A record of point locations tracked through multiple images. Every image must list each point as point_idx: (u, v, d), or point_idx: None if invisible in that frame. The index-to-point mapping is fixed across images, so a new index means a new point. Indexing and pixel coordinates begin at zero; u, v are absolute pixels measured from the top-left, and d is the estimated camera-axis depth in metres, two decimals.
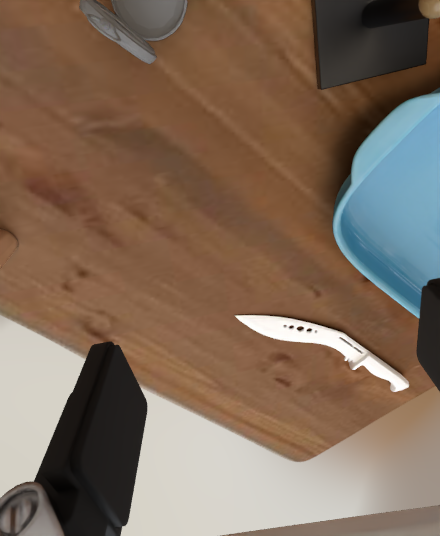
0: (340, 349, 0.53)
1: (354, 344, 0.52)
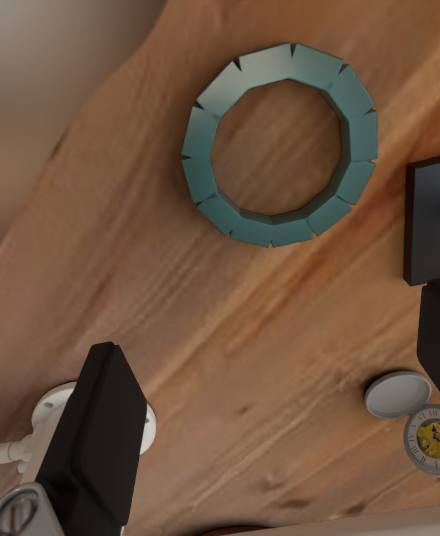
0: None
1: None
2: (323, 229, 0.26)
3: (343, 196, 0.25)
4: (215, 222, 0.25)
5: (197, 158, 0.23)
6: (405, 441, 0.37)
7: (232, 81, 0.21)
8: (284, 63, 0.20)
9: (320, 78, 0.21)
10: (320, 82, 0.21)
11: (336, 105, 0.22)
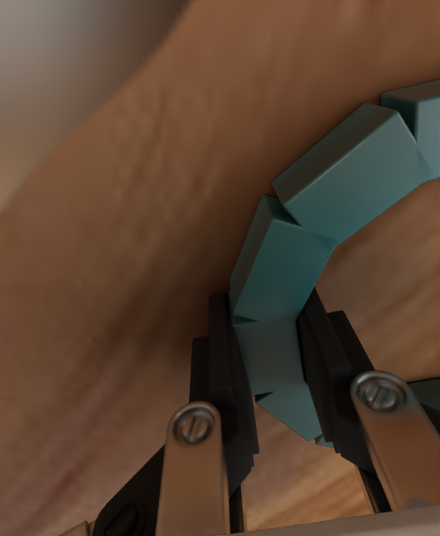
0: None
1: None
2: None
3: None
4: (291, 423, 0.12)
5: (270, 321, 0.10)
6: None
7: (388, 163, 0.08)
8: None
9: None
10: None
11: None
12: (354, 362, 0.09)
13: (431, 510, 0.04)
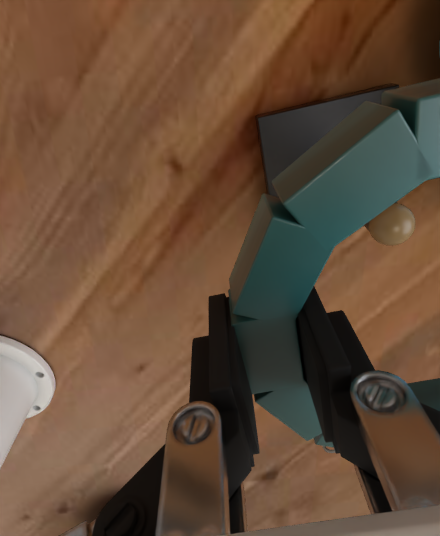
0: None
1: None
2: None
3: None
4: (291, 423, 0.12)
5: (269, 321, 0.10)
6: None
7: (388, 161, 0.08)
8: None
9: None
10: None
11: None
12: (354, 362, 0.09)
13: (431, 510, 0.04)
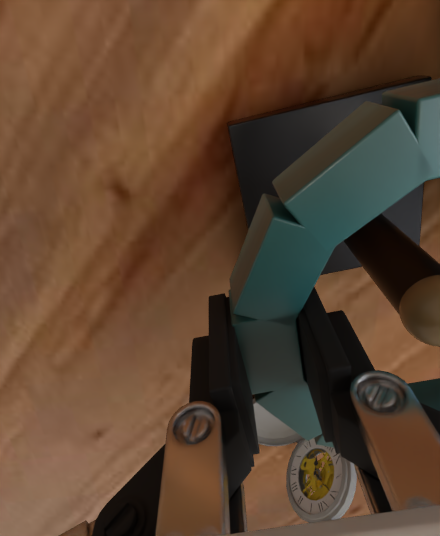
0: None
1: None
2: None
3: None
4: (291, 423, 0.12)
5: (269, 321, 0.10)
6: (287, 475, 0.30)
7: (388, 162, 0.08)
8: None
9: None
10: None
11: None
12: (354, 362, 0.09)
13: (431, 510, 0.04)
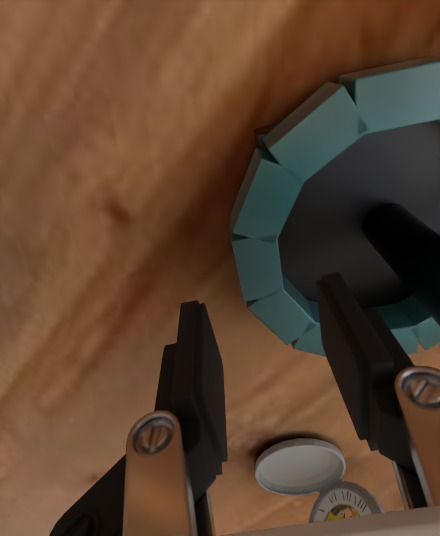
0: None
1: None
2: (436, 341, 0.17)
3: None
4: (274, 328, 0.16)
5: (258, 239, 0.14)
6: None
7: (338, 121, 0.12)
8: (435, 94, 0.11)
9: None
10: None
11: None
12: (392, 358, 0.09)
13: (431, 510, 0.04)
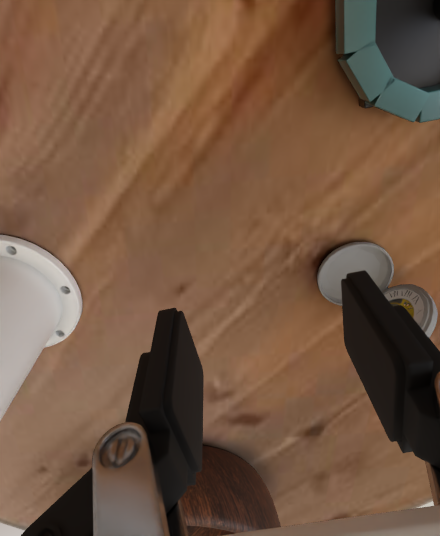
0: None
1: None
2: None
3: None
4: (363, 82, 0.22)
5: None
6: None
7: None
8: None
9: None
10: None
11: None
12: None
13: (431, 510, 0.04)
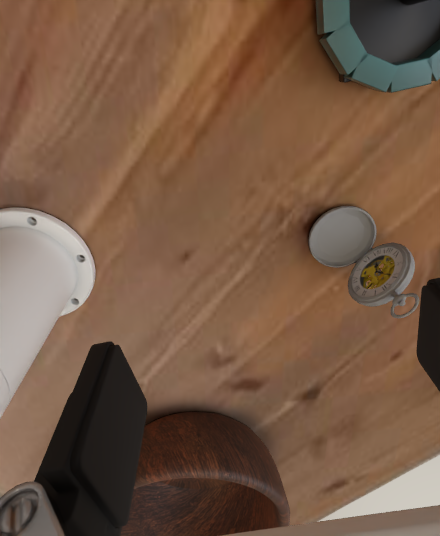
0: None
1: None
2: None
3: None
4: (341, 58, 0.26)
5: None
6: (349, 284, 0.36)
7: None
8: None
9: None
10: None
11: None
12: None
13: (431, 510, 0.04)
